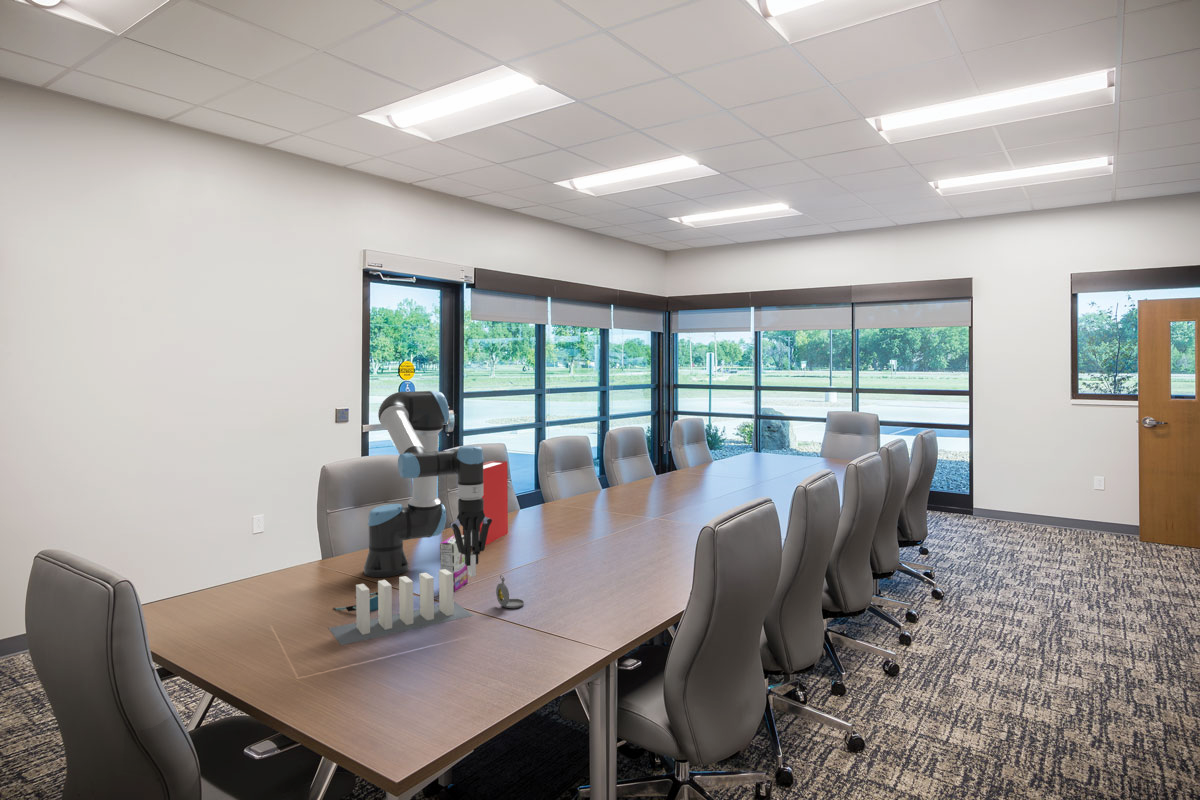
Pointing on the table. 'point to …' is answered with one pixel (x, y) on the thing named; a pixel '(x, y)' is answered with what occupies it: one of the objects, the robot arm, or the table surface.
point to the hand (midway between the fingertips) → (471, 575)
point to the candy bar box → (454, 562)
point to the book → (495, 499)
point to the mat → (394, 625)
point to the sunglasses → (372, 604)
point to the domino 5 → (446, 592)
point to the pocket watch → (506, 596)
